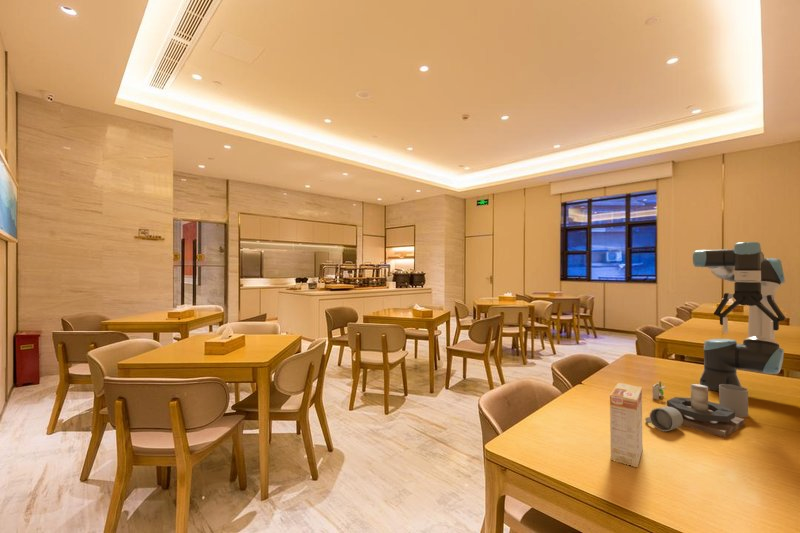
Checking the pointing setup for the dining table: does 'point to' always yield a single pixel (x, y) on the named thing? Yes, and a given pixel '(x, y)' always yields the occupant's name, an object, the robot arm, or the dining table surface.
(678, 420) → the ceramic mug
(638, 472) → the dining table surface
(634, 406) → the coffeecake box
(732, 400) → the cup
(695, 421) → the pipe stand
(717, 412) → the ring
